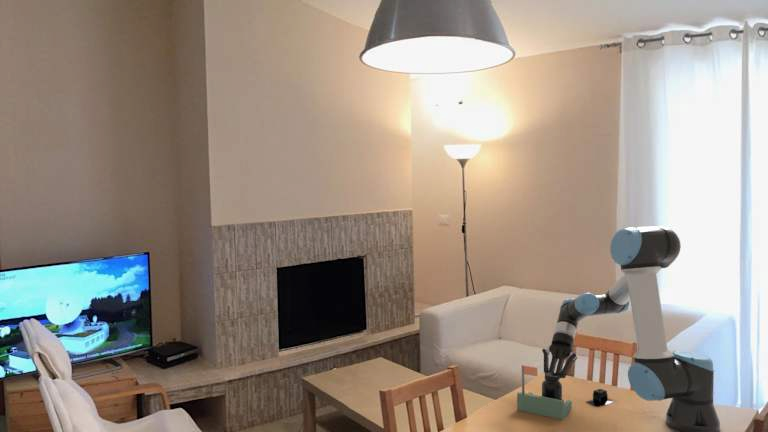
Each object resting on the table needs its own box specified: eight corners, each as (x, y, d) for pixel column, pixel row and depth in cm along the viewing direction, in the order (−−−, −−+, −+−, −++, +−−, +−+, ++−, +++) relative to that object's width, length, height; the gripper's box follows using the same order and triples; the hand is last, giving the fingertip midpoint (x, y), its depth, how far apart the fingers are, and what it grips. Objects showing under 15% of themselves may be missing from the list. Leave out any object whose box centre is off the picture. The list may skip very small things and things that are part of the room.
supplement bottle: (540, 409, 198) (539, 376, 197) (543, 402, 204) (543, 370, 204) (560, 412, 195) (560, 378, 195) (563, 405, 201) (562, 372, 201)
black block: (604, 396, 210) (604, 384, 210) (620, 402, 204) (620, 390, 203) (580, 403, 204) (580, 391, 204) (596, 410, 198) (596, 397, 197)
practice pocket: (528, 400, 207) (527, 357, 206) (572, 409, 198) (571, 363, 197) (517, 410, 199) (516, 365, 198) (562, 419, 189) (562, 372, 189)
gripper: (583, 344, 215) (570, 401, 202) (549, 339, 222) (534, 394, 210) (578, 333, 210) (565, 391, 198) (544, 329, 218) (529, 385, 205)
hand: (549, 393), depth 204 cm, fingers closed
